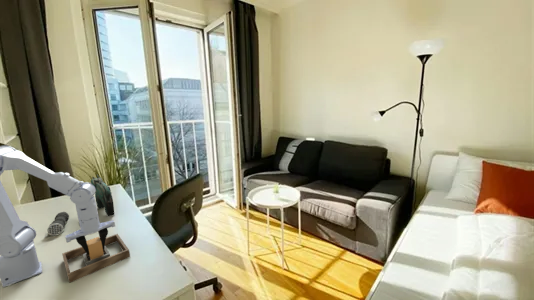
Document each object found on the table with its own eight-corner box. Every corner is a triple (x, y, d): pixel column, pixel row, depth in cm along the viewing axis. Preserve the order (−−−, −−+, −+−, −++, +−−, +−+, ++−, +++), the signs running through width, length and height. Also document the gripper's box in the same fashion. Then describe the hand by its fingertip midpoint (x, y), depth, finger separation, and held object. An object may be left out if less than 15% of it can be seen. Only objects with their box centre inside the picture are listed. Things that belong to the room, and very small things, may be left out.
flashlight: (57, 222, 120) (54, 212, 119) (70, 219, 123) (68, 209, 122) (48, 237, 107) (45, 225, 106) (64, 233, 110) (61, 222, 109)
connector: (91, 260, 88) (87, 245, 87) (88, 255, 91) (85, 241, 90) (103, 255, 91) (101, 240, 89) (101, 250, 94) (98, 236, 92)
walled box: (69, 282, 79) (67, 274, 79) (63, 260, 90) (62, 253, 90) (130, 256, 91) (129, 249, 91) (118, 240, 103) (117, 233, 102)
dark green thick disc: (94, 207, 135) (87, 172, 131) (107, 203, 140) (101, 170, 136) (105, 218, 122) (98, 180, 118) (119, 213, 127) (113, 177, 123)
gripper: (109, 207, 95) (115, 238, 98) (61, 220, 85) (69, 255, 88) (113, 212, 90) (119, 245, 93) (63, 228, 80) (72, 264, 83)
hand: (95, 250), depth 90 cm, fingers closed on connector, 4 cm apart
